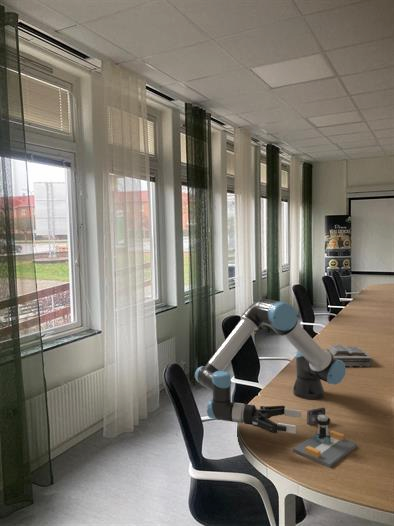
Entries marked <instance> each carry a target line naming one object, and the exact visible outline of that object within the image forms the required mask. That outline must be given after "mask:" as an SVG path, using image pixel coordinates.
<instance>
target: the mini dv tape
mask: <svg viewBox="0 0 394 526" xmlns="http://www.w3.org/2000/svg"><path fill="white" fill-rule="evenodd" d="M318 415H326V408H325V407H318V408H315V409H310V410H309V409H308V410H307V411H306V424H307V425H309V426H312V425H318V424H317V423H316V417H318Z"/></svg>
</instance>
